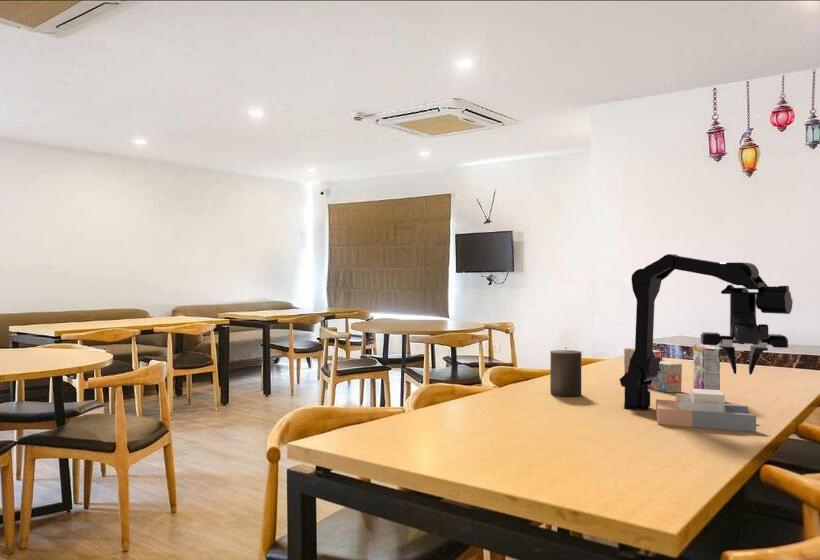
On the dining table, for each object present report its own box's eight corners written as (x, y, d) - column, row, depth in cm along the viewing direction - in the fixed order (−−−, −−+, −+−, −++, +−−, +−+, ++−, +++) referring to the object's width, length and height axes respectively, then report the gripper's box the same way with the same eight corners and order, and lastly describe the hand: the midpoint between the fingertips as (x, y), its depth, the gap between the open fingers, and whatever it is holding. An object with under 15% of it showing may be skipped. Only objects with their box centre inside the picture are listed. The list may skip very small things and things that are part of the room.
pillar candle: (582, 397, 186) (583, 349, 186) (550, 396, 187) (551, 348, 188) (579, 392, 195) (580, 346, 195) (549, 390, 197) (549, 345, 197)
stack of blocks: (682, 392, 195) (682, 354, 195) (666, 393, 194) (666, 355, 193) (638, 381, 216) (638, 347, 216) (623, 382, 214) (623, 347, 214)
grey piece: (657, 424, 152) (657, 408, 152) (655, 414, 164) (655, 399, 164) (756, 432, 145) (756, 415, 145) (747, 420, 156) (747, 405, 156)
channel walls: (679, 409, 151) (679, 401, 151) (675, 400, 162) (676, 393, 162) (723, 412, 147) (723, 404, 147) (717, 403, 158) (717, 396, 158)
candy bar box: (692, 396, 188) (692, 344, 188) (709, 397, 187) (709, 344, 187) (702, 403, 177) (702, 348, 177) (720, 404, 176) (720, 348, 176)
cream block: (693, 409, 152) (693, 393, 152) (691, 403, 158) (691, 388, 158) (724, 411, 149) (724, 395, 149) (720, 405, 156) (720, 390, 156)
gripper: (705, 313, 147) (705, 377, 147) (794, 315, 140) (793, 381, 140) (700, 310, 157) (700, 370, 157) (782, 312, 151) (782, 374, 151)
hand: (742, 374), depth 151 cm, fingers open, 3 cm apart
